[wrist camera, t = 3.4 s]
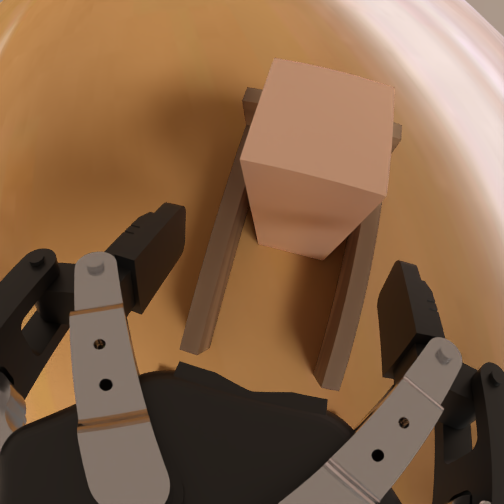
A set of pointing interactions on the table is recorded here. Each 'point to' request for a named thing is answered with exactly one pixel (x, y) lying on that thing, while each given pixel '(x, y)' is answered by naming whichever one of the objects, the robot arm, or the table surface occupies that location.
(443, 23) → the table surface
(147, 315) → the table surface
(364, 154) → the block
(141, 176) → the table surface
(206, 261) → the brown u-shaped rail
